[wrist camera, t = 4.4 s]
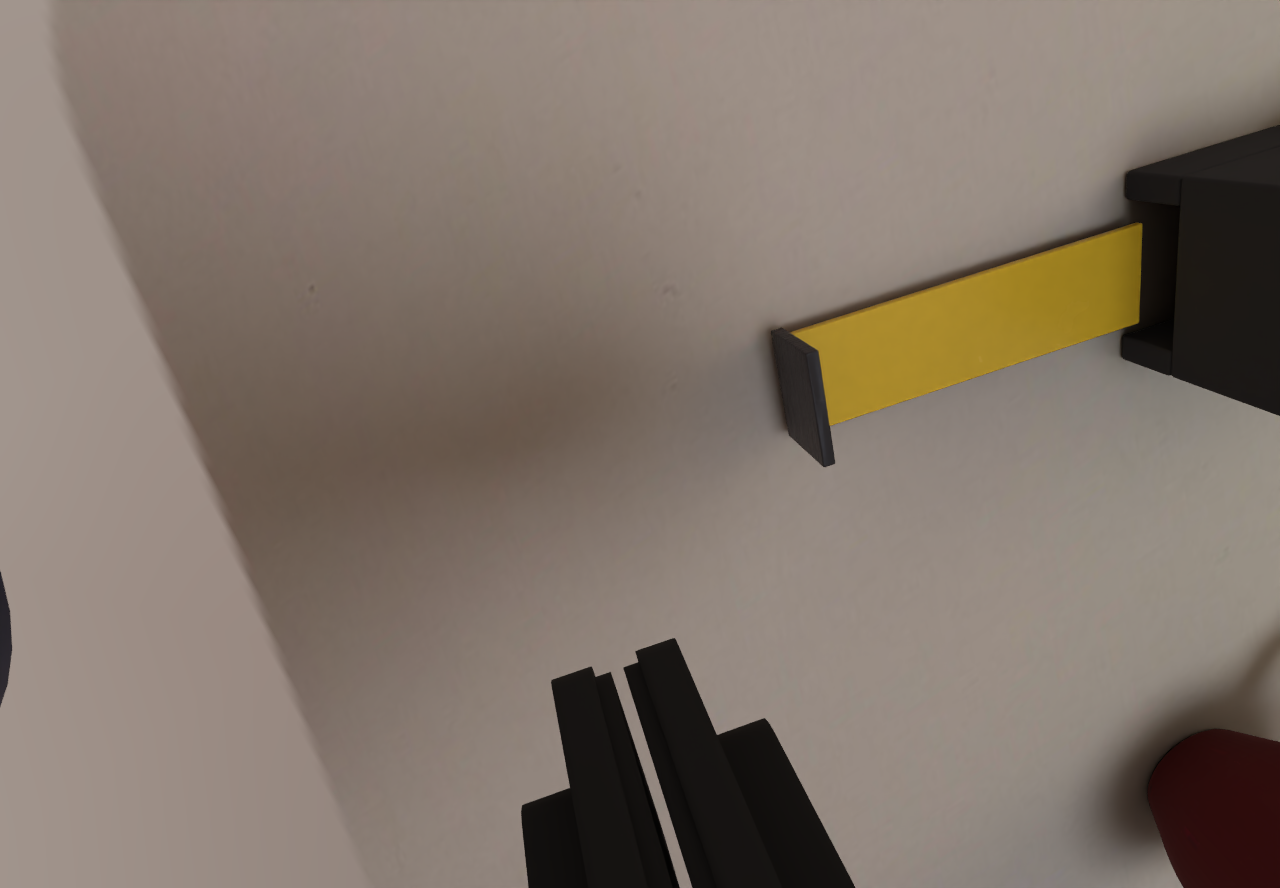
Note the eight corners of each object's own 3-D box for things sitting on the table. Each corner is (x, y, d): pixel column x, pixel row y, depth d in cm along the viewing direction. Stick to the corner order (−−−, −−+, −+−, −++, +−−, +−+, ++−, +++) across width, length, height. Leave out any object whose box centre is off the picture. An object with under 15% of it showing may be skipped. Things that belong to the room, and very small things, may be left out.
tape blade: (788, 435, 20) (823, 468, 18) (770, 330, 19) (806, 354, 17) (1127, 322, 21) (1192, 343, 19) (1130, 217, 20) (1199, 228, 18)
